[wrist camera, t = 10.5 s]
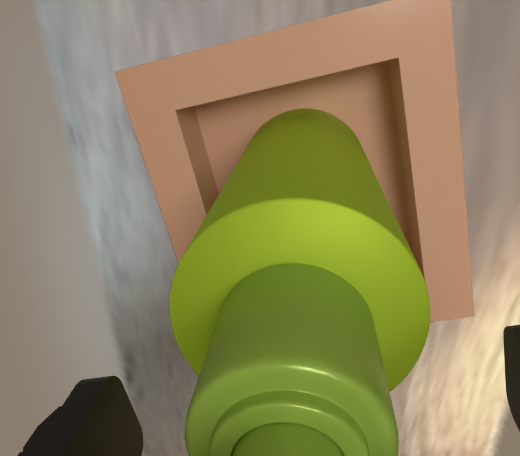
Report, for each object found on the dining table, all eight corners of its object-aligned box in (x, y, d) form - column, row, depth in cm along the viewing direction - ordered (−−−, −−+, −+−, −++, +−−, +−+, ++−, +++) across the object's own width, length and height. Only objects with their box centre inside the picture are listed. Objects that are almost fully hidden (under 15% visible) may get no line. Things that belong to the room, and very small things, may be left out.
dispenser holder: (143, 65, 22) (114, 71, 19) (426, -8, 20) (449, -16, 16) (220, 312, 27) (208, 351, 24) (452, 277, 25) (474, 316, 21)
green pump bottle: (293, 260, 24) (239, 948, 6) (221, 149, 22) (-187, 651, 4) (396, 208, 23) (764, 936, 4) (327, 83, 21) (458, 426, 2)
